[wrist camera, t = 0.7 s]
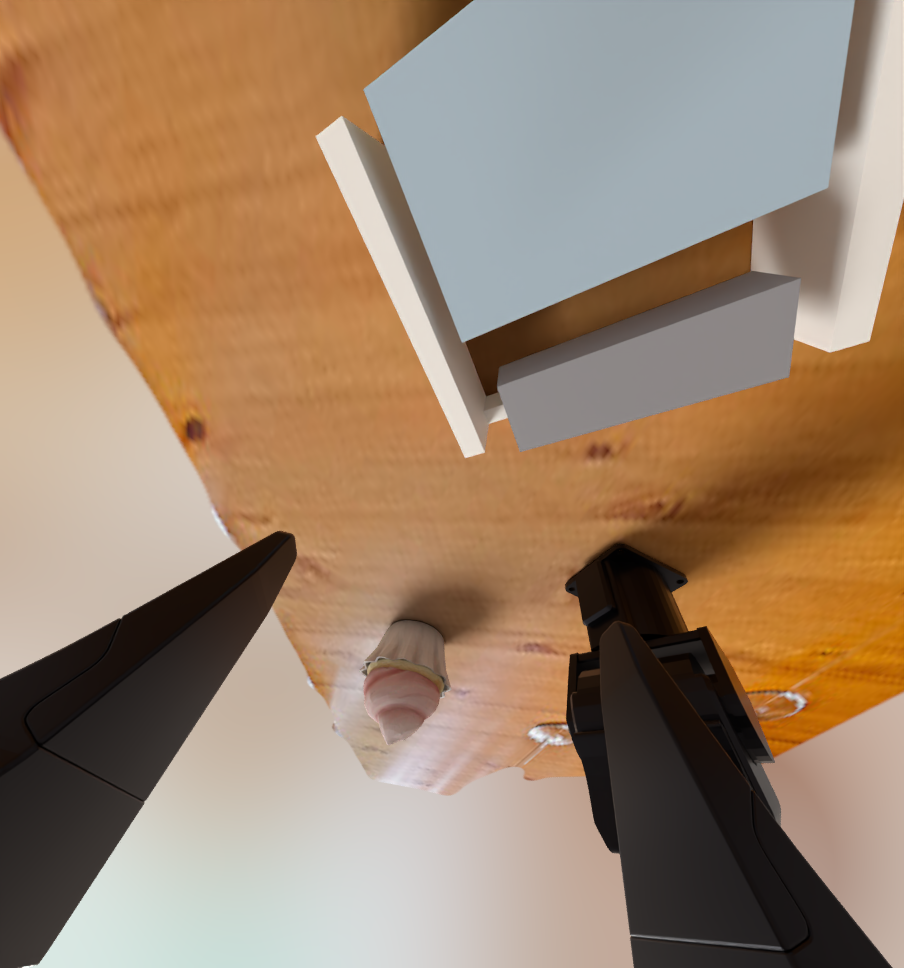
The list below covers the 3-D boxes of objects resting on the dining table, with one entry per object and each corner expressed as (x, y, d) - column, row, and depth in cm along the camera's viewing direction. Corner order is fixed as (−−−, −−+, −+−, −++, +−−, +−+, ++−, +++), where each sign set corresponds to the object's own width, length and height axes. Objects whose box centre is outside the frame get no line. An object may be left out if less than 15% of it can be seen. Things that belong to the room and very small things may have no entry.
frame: (817, -149, 9) (1061, -459, 5) (775, 313, 15) (869, 340, 11) (372, 164, 14) (315, 136, 10) (475, 414, 20) (465, 457, 16)
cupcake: (362, 632, 38) (322, 735, 30) (399, 599, 33) (362, 713, 25) (429, 664, 41) (409, 768, 33) (474, 637, 35) (462, 753, 27)
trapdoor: (829, -236, 7) (958, -430, 5) (773, 348, 12) (820, 368, 11) (382, 107, 10) (352, 78, 8) (503, 431, 16) (502, 457, 14)
